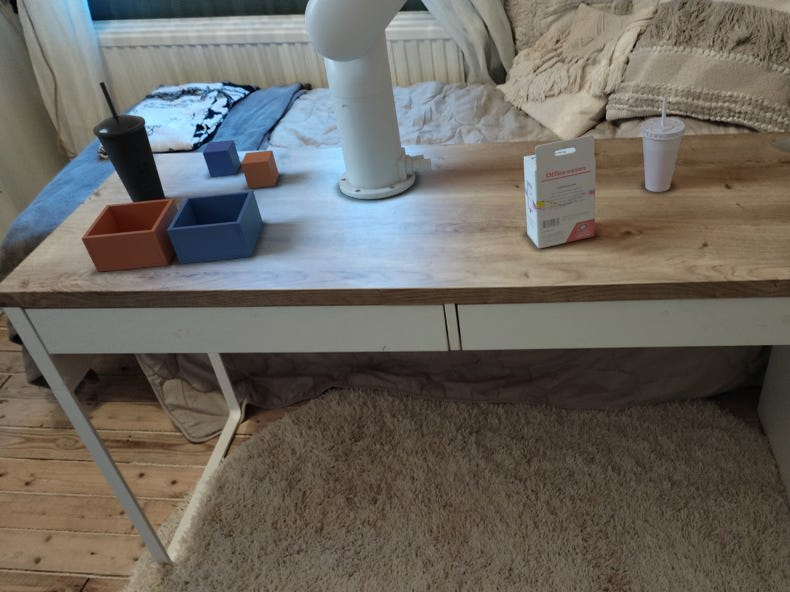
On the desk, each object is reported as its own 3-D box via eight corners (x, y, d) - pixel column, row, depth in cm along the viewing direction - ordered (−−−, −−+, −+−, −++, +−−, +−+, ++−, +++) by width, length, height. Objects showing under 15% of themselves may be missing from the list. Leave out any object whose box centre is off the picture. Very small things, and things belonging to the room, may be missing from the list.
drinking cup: (117, 211, 117) (63, 89, 104) (153, 191, 122) (105, 72, 109) (149, 219, 114) (97, 93, 101) (184, 198, 119) (139, 76, 106)
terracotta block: (279, 174, 123) (272, 150, 120) (274, 186, 120) (267, 161, 117) (253, 177, 123) (246, 152, 120) (248, 188, 120) (240, 163, 117)
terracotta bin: (186, 230, 110) (174, 198, 106) (167, 265, 102) (153, 231, 98) (121, 237, 110) (106, 204, 106) (97, 272, 102) (81, 238, 98)
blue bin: (263, 223, 110) (253, 190, 106) (250, 257, 102) (239, 223, 98) (197, 229, 110) (185, 197, 106) (180, 263, 102) (166, 230, 98)
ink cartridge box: (581, 221, 102) (583, 121, 93) (595, 237, 99) (598, 135, 89) (525, 233, 101) (521, 133, 92) (537, 250, 97) (534, 147, 88)
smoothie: (634, 195, 107) (641, 103, 99) (637, 176, 112) (644, 87, 103) (678, 196, 106) (688, 103, 97) (679, 178, 111) (689, 87, 102)
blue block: (240, 163, 128) (233, 139, 125) (235, 174, 125) (228, 150, 122) (216, 166, 128) (208, 142, 125) (210, 176, 125) (202, 152, 122)
